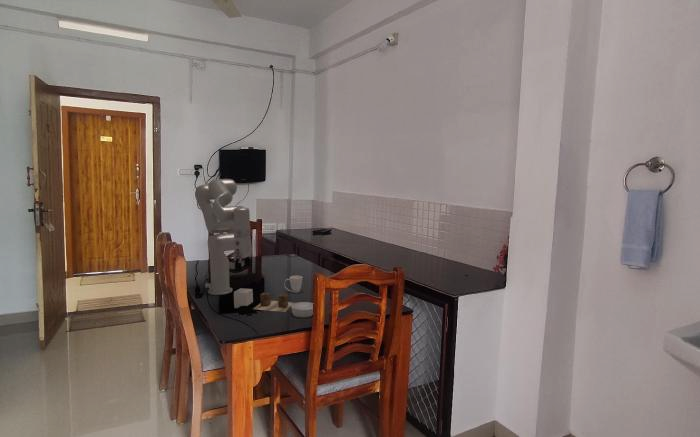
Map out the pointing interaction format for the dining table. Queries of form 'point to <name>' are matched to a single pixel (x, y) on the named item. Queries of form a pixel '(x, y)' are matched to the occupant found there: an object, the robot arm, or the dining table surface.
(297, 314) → the ramekin
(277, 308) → the post board
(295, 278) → the cup
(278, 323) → the dining table surface
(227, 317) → the dining table surface
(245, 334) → the dining table surface
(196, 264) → the dining table surface
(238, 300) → the matte grey cube
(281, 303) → the post
